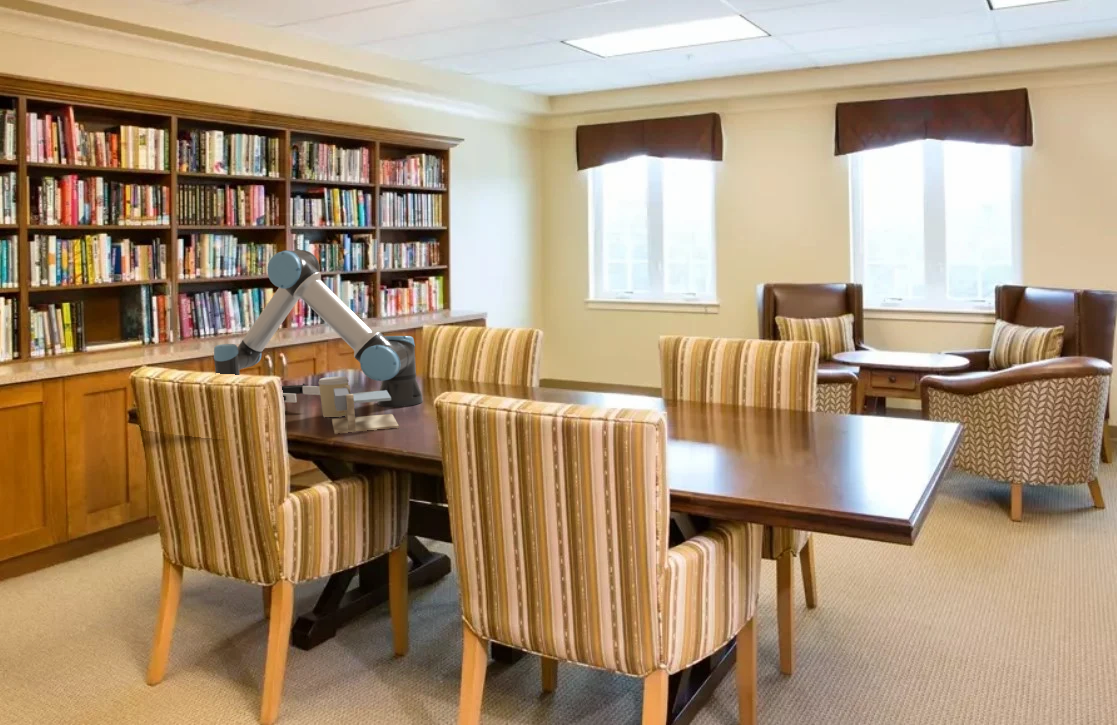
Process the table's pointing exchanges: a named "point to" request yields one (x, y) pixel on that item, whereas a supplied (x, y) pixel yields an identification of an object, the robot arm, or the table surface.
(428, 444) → the table surface
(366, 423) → the frame
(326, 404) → the coffee cup
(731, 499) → the table surface
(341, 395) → the trapdoor
